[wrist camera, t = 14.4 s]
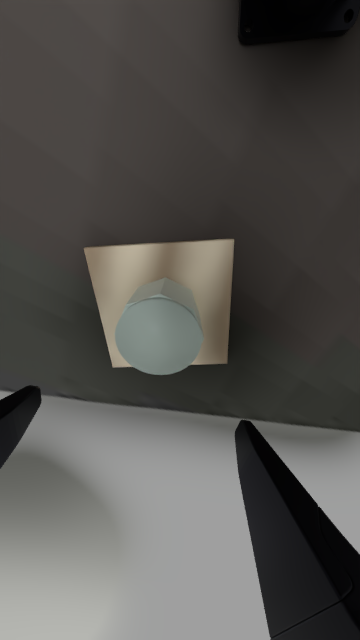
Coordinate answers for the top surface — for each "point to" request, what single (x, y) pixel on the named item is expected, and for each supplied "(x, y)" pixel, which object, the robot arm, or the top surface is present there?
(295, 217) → the top surface
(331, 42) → the top surface
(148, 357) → the cap
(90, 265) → the holder
